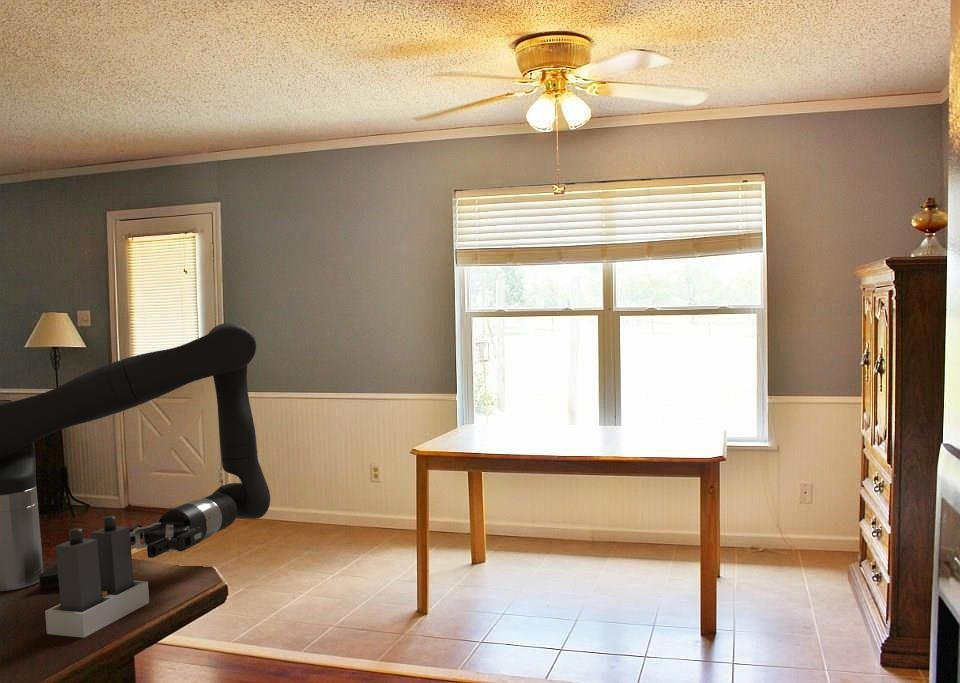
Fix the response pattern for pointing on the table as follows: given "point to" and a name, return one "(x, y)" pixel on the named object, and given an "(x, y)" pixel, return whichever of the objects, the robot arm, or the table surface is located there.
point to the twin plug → (78, 573)
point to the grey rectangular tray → (97, 612)
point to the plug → (114, 557)
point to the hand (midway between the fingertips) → (127, 550)
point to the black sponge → (49, 578)
